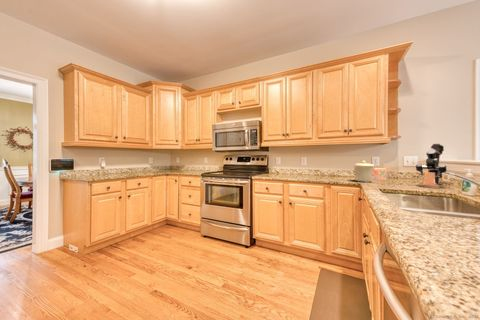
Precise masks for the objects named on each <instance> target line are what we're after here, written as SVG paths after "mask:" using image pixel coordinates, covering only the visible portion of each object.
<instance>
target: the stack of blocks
mask: <svg viewBox="0 0 480 320" xmlns="http://www.w3.org/2000/svg"><path fill="white" fill-rule="evenodd" d="M374 180H375V181H387V180H388V169H387V168H382V167H379V168H378V167H377V168H375V167H373V174H372V180H371V181H374Z"/></svg>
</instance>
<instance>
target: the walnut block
mask: <svg viewBox="0 0 480 320" xmlns="http://www.w3.org/2000/svg"><path fill="white" fill-rule="evenodd" d="M423 183H424V182H421V183H418V185H417V186H418V188H423V189H424V188H425V189H435V190H436V189H437V190H438V189H440V188H441V187H442V186H441V185H442V184H437V185H424V184H423Z"/></svg>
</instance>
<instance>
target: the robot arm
mask: <svg viewBox="0 0 480 320" xmlns="http://www.w3.org/2000/svg"><path fill="white" fill-rule="evenodd" d="M443 152H444V145H442V144H440V143H433V144H432V145H431V147H430V148H429V149H427V150H426V153H425V154H426V156H427V158H426V161H425V165H423V164H416V165H415V169H416V171H417V172H419V173H420V174H421V176H424V172H423V171H424V169H425V170H428V171H427V172H434V173H435V183H437V184H439V185H441V182H440V179H441V178H443V174H444V173H446V172H447V165H444V164H443V165H441V164H440V156H441V155H443Z"/></svg>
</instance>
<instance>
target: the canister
mask: <svg viewBox="0 0 480 320" xmlns="http://www.w3.org/2000/svg"><path fill="white" fill-rule="evenodd" d="M353 167H354V176H355V180H356V182H358V183H359V182H360V183H370V182H372V181H373V180H372V174H373V168H375V165H374V164H372V163H367V161H366V160H362V161H361V163H355V164H353Z"/></svg>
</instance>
